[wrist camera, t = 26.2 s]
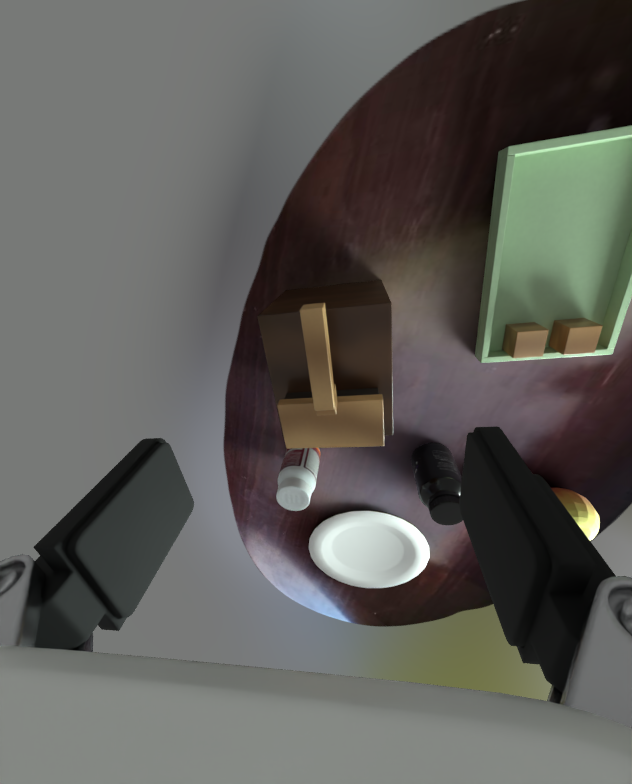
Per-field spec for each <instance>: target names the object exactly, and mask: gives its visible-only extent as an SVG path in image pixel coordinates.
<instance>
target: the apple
mask: <svg viewBox="0 0 632 784" xmlns="http://www.w3.org/2000/svg"><path fill="white" fill-rule="evenodd" d="M551 489H552V490H553V492H554V493H555V494H556V496H557V497H558V498H559V500H560V501H561V502H562V504H563V505H564V507H565V508H566V509H567V511H568V512H569V513H570V515H571V516H572V517H573V519H574V520H575V521H576V523H577V524H578V526H579V527H580V528H581V530H582V531H583V532H584V534H585V535H586V536H587V538H588V539H589V540H592V539H593V538H594V537H595V536H596V534H597V533H598V530H599V524H600V521H599V515H598V514H597V512H596V510H595V509H594V507H593V506H592V505H591V503H590V502H589V501H588V500H587V499H586V498H585V497H583V496H581V495H579V494H577V493H575V492H573V491H571V490H568V489H563V488H551Z"/></svg>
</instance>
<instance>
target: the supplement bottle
mask: <svg viewBox="0 0 632 784" xmlns="http://www.w3.org/2000/svg"><path fill="white" fill-rule="evenodd" d="M411 463H412V468H413V473H414V477H415V481H416V486H417V490H418V495H419V498H420V500H421V502H422V503H423V504H424V505H425V506H426V507H428V509H429V511H430V515H431V517H432V519H433V520H434V521H435V522H436V523H439V524H442V525H454V524H457V523H460V522H461V521H462V520H463V517H462V515H461V511H460V505H459V500H460V491H461V483H462V477H461V475H460V472H459V470H458V467H457V465H456V462H455V460H454V457H453V455H452V453H451V451H450V450H449V449H448V448H447V447H446V446H444V445H442V444H439V443H426V444H423V445H421V446H419V447H418V448H416V449H415V451H414V452H413V454H412V456H411Z"/></svg>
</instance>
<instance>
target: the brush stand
mask: <svg viewBox="0 0 632 784" xmlns="http://www.w3.org/2000/svg"><path fill="white" fill-rule="evenodd" d="M316 303H325V308H326V317H327V326H328V335H329V344H330V353H331V362H332V371H333V380H334V384H336V390H348V389H366V388H378V390H379V394H382V396H383V412H384V436H385V435H393V382H392V311H391V301H390V299H389V297H388V294H387V292H386V290H385V287H384V285H383V283H382V280H375V281H366V282H357V283H348V284H339V285H330V286H322V287H313V288H304V289H295V290H286V291H285V292H284V293H283V294H282V295H281V296H279V297H278V298H277V299H276V300H275V301H274V302H273V303H272V304H271V305H269V306H268V307H267V308H266V309H265V310H264V311H263V312H262V313H260V314H259V315H258V316H257V317H258V322H259V326H260V331H261V336H262V340H263V345H264V350H265V354H266V359H267V364H268V368H269V373H270V378H271V383H272V387H273V392H274V397H275V401H276V406H277V405H278V402H279V400H280V399H285V396H286V394H287V393H295V392H312V390H311V384H310V377H309V370H308V363H307V357H306V350H305V343H304V336H303V330H302V323H301V316H300V309H301V308H302V306H303V305H306V304H316ZM277 411H278V406H277ZM278 415H279V411H278ZM279 420H280V416H279ZM280 425H281V421H280ZM281 429H282V425H281ZM282 434H283V430H282ZM283 439H284V435H283Z"/></svg>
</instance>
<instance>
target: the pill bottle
mask: <svg viewBox="0 0 632 784" xmlns="http://www.w3.org/2000/svg"><path fill="white" fill-rule="evenodd" d="M319 461H320V450H319V448H290V449H287V450H286V453H285V456H284V460H283V463H282V466H281V469H280V472H279V476H278V486H279V487H278V491H277V494H276V498H277V501H278V503H279V504H280V505H281V506H282V507H284V508H285V509H288V510H292V511H299V510H303V509H305V508H306V507H307V506H308V505H309V503H310V498H311V494H312V492H313V491H314V489H315V486H316V480H317V473H318V467H319Z"/></svg>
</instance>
